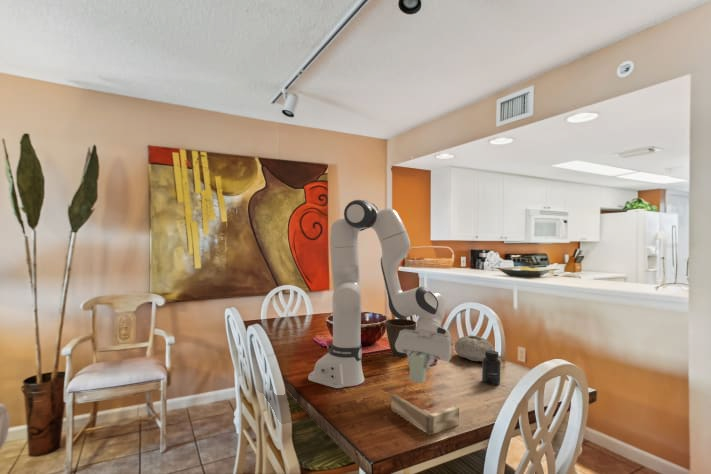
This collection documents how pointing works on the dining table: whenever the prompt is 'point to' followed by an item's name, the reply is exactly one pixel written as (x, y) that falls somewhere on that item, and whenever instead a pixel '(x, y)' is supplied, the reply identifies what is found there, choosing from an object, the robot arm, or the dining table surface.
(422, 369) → the sage block
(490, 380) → the supplement bottle
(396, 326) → the plant pot
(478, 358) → the decorative shell
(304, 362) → the dining table surface
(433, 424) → the corner bracket
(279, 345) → the dining table surface
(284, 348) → the dining table surface
